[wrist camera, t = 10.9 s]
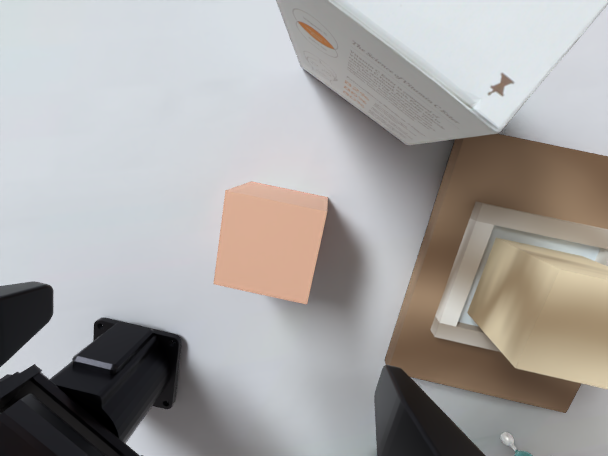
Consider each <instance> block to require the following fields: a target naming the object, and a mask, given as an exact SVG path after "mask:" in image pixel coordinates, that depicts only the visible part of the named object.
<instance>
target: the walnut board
mask: <svg viewBox="0 0 608 456" xmlns="http://www.w3.org/2000/svg"><path fill="white" fill-rule="evenodd" d="M496 238H501V239H505V240H510V241H514V242H519V243H524V244H528V245H533V246H538V247H542V248H547V249H552V250H556V251H561V252H565V253H570V254H575V255H579V256H583V257H586V258H588V259H591V260H593V261H596V262H598V263H601V264H603V265H606V266H608V156H603V155H598V154H593V153H588V152H584V151H579V150H574V149H569V148H564V147H559V146H554V145H549V144H545V143H540V142H535V141H530V140H525V139H520V138H515V137H510V136H506V135H501V134H490V135H483V136H475V137H468V138H460V139H455V141H454V144H453V147H452V150H451V154H450V157H449V160H448V163H447V166H446V169H445V172H444V176H443V179H442V182H441V185H440V188H439V191H438V194H437V197H436V201H435V204H434V207H433V210H432V213H431V216H430V219H429V223H428V226H427V229H426V232H425V235H424V238H423V241H422V244H421V248H420V251H419V254H418V257H417V260H416V263H415V266H414V269H413V273H412V276H411V279H410V282H409V285H408V288H407V291H406V295H405V298H404V301H403V304H402V307H401V310H400V313H399V316H398V320H397V323H396V326H395V329H394V332H393V335H392V338H391V342H390V345H389V348H388V351H387V354H386V357H385V363H386V365H391V366H396V367H400V368H401V369H403V370H404V371H405V373H406V374H407V375H408V376H409V377H413V378H417V379H422V380H426V381H430V382H435V383H439V384H443V385H447V386H452V387H456V388H460V389H465V390H469V391H473V392H478V393H482V394H486V395H490V396H495V397H499V398H503V399H508V400H512V401H516V402H520V403H525V404H529V405H533V406H538V407H542V408H546V409H550V410H555V411H559V412H563V413H566V412H567V410H568V408H569V406H570V404H571V402H572V401H573V399H574V397H575V395H576V393H577V391H578V389H579V387H580V385H581V384H582V383H578V382H573V381H569V380H564V379H560V378H556V377H551V376H547V375H543V374H538V373H534V372H530V371H525V370H521V369H517V368H515V367H514V366H513V365H512V364H511V363H510V362H509V360H508V359H507V358H506V357H505V356H504V355H503V353H502V352H501V351H500V350H499V349H498V348H497V347H496V345H495V344H494V343H493V342H492V341H491V340H490V339H489V337H488V336H487V335H486V334H485V333H484V332H483V331H482V329H481V328H480V327H479V326H478V325H477V324H476V322H475V321H474V320H473V319H472V318H471V317H470V316H469V314H468V313H467V312H468V309H469V307H470V304H471V301H472V299H473V296H474V294H475V291H476V288H477V286H478V283H479V280H480V278H481V275H482V273H483V270H484V267H485V265H486V262H487V260H488V257H489V254H490V252H491V249H492V247H493V244H494V241H495V239H496Z"/></svg>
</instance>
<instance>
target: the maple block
mask: <svg viewBox="0 0 608 456" xmlns="http://www.w3.org/2000/svg"><path fill="white" fill-rule="evenodd" d="M467 313H468V314H469V316H470V317H471V318H472V319H473V320H474V321H475V322H476V324H477V325H478V326H479V327H480V328H481V329H482V331H483V332H484V333H485V334H486V335H487V336H488V337H489V339H490V340H491V341H492V342H493V343H494V344H495V345H496V347H497V348H498V349H499V350H500V351H501V352H502V353H503V355H504V356H505V357H506V358H507V359H508V360H509V362H510V363H511V364H512V365H513V366H514V367H515V368H517V369H521V370H525V371H530V372H534V373H538V374H543V375H547V376H551V377H556V378H560V379H564V380H569V381H573V382H578V383H582V384H586V385H591V386H595V387H599V388H604V389H608V266H606V265H603V264H601V263H598V262H596V261H593V260H591V259H588V258H586V257H583V256H579V255H575V254H570V253H565V252H561V251H556V250H552V249H547V248H542V247H538V246H533V245H528V244H524V243H519V242H514V241H510V240H505V239H501V238H496V239H495V241H494V244H493V247H492V249H491V252H490V254H489V257H488V260H487V262H486V265H485V267H484V270H483V273H482V275H481V278H480V280H479V283H478V286H477V288H476V291H475V294H474V296H473V299H472V301H471V304H470V307H469V309H468V312H467Z"/></svg>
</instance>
